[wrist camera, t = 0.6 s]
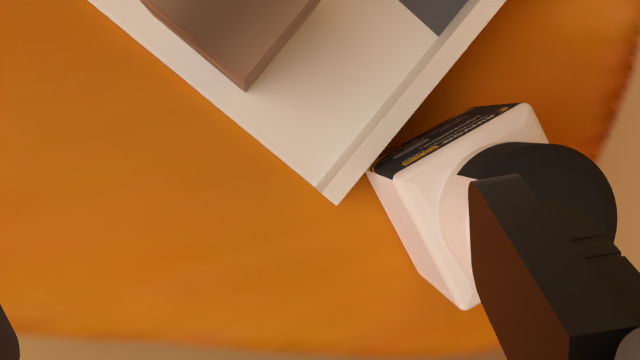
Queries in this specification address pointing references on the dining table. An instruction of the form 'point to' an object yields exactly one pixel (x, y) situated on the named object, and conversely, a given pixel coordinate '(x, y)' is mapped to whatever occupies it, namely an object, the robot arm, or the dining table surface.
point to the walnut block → (234, 31)
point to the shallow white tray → (325, 80)
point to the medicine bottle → (469, 165)
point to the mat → (435, 12)
